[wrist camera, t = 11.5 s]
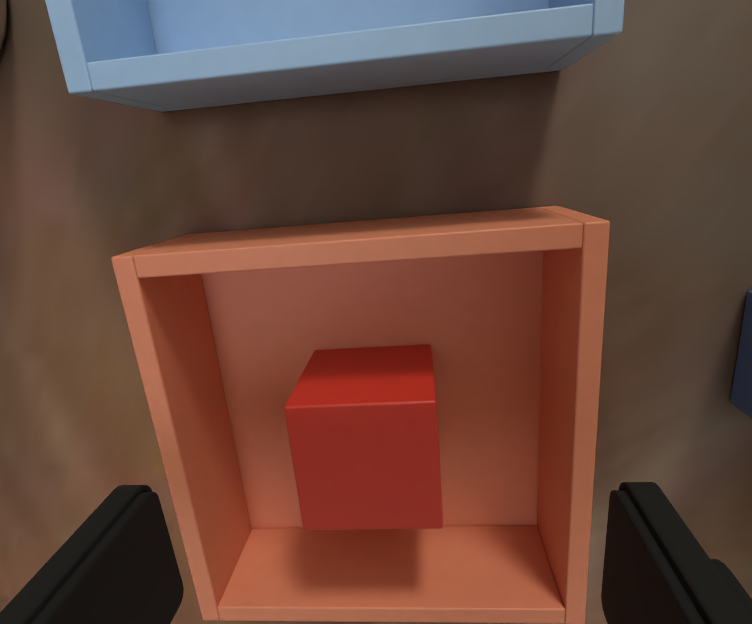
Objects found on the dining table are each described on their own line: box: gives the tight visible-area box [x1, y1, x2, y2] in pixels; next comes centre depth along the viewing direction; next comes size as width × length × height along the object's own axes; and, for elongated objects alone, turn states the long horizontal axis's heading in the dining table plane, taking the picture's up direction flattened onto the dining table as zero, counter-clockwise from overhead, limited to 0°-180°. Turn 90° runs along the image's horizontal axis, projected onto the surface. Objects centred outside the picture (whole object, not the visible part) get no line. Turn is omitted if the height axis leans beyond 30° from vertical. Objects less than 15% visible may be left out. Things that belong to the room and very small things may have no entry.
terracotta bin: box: [111, 206, 610, 624], centre depth 15 cm, size 12×12×4 cm
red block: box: [284, 344, 443, 530], centre depth 15 cm, size 4×4×4 cm
